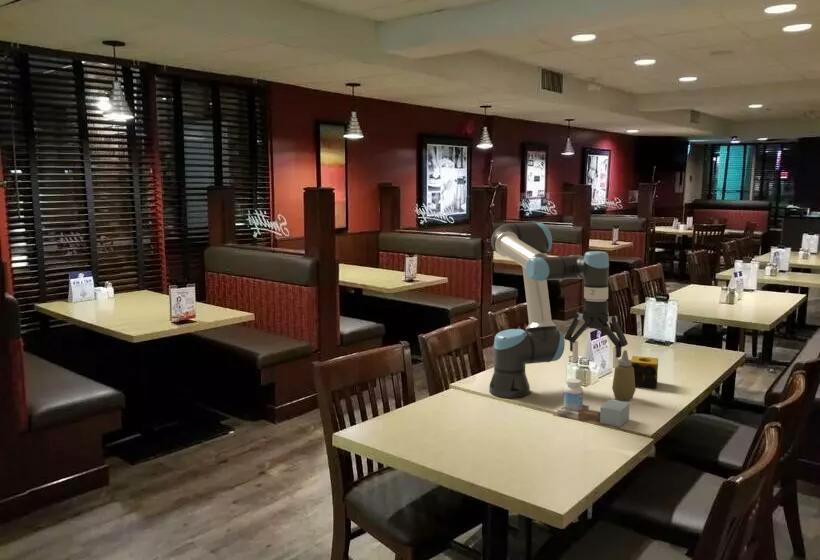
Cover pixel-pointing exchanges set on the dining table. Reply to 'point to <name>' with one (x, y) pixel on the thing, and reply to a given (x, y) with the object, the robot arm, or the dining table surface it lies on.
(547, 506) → the dining table surface
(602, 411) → the cover
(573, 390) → the pill bottle
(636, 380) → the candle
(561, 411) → the board
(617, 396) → the squeeze bottle
